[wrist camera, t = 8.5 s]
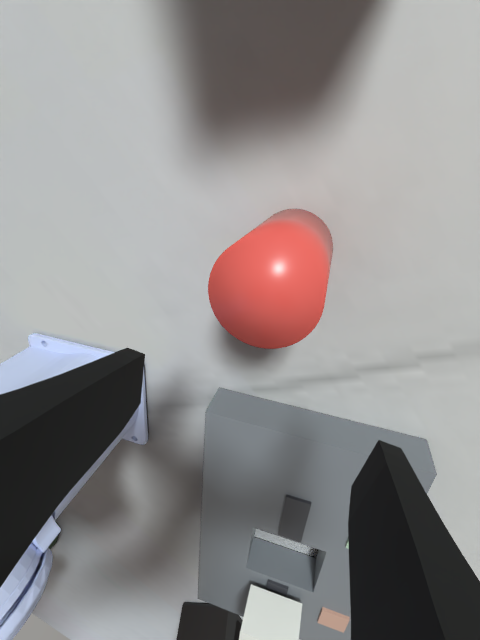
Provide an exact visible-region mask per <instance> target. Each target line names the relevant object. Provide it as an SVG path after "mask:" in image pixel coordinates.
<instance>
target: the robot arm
mask: <svg viewBox="0 0 480 640" xmlns="http://www.w3.org/2000/svg"><path fill="white" fill-rule="evenodd" d="M28 341H29V345H30V347H28V348H26V349H24V350H23V351H21V352H19V353H18V354H16V355H14V356H13V357H11V358H9V359H7V360H6V361H4V362H2V363H1V364H0V640H12V639H13V638H14V637H15V635H16V634H17V633H18V632H19V630H20V629H21V628H22V626H23V625H24V623H25V622H26V621H27V619H28V618H29V616H30V615H31V613H32V612H33V610H34V608H35V607H36V605H37V603H38V601H39V600H40V598H41V596H42V594H43V591H44V589H45V587H46V584H47V581H48V576H49V573H50V570H51V567H52V562H53V555H52V552H51V550H50V549H49V548H48V547H49V546H50V544H51V543H52V542H53V540H54V539H55V538H56V537H57V535H58V534H59V533H60V531H61V528H60V527H59V526H58V525H57V523H56V522H55V520H56V519H57V518H58V516H59V515H60V514H61V513H62V511H63V510H64V509H65V508H66V507H67V505H68V504H69V503H70V502H71V500H72V499H73V498H74V497H75V495H76V494H77V493H78V492H79V491H80V489H81V488H82V487H83V486H84V484H85V483H86V482H87V481H88V479H89V478H90V477H91V476H92V475H93V473H94V472H95V471H96V470H97V468H98V467H99V466H100V465H101V463H102V462H103V461H104V460H105V459H106V457H107V456H108V455H109V454H110V452H111V451H112V450H113V449H114V447H115V446H116V445H117V444H118V443H119V441H120V440H121V439H124V440H127V441H131V442H134V443H137V444H141V445H144V444H146V443H147V441H148V426H147V409H146V393H145V376H144V359H145V354H143V353H140V352H138V351H135V350H132V349H129V348H126V349H123V350H120V351H117V352H111V351H107V350H103V349H99V348H95V347H91V346H87V345H83V344H78V343H74V342H70V341H66V340H62V339H58V338H54V337H50V336H46V335H42V334H37V333H33V334H31V335H29V336H28ZM348 542H349V575H350V606H351V640H480V581H479V580H478V578H477V577H476V575H475V573H474V572H473V570H472V569H471V567H470V566H469V564H468V563H467V561H466V559H465V558H464V556H463V555H462V553H461V552H460V550H459V548H458V547H457V545H456V543H455V542H454V540H453V539H452V537H451V535H450V534H449V532H448V530H447V529H446V527H445V525H444V523H443V522H442V520H441V518H440V517H439V515H438V513H437V511H436V510H435V508H434V506H433V504H432V503H431V501H430V499H429V497H428V496H427V494H426V492H425V490H424V488H423V487H422V485H421V483H420V481H419V479H418V477H417V476H416V474H415V472H414V470H413V468H412V467H411V465H410V463H409V461H408V459H407V457H406V456H405V454H404V452H403V450H402V449H401V448H400V447H397V446H394V445H392V444H389V443H386V442H383V441H381V440H378V442H377V443H376V445H375V447H374V449H373V450H372V452H371V454H370V455H369V457H368V459H367V460H366V462H365V464H364V466H363V467H362V469H361V471H360V472H359V474H358V476H357V477H356V479H355V481H354V483H353V484H352V486H351V496H350V505H349V518H348Z"/></svg>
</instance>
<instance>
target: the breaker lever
mask: <svg viewBox="0 0 480 640" xmlns="http://www.w3.org/2000/svg"><path fill="white" fill-rule="evenodd" d="M301 612H302V603H299V602H297V601H294V600H291V599H289V598H286V597H283V596H281V595H278V594H275V593H273V592H270V591H267V590H265V589H262V588H259V587H257V586H254V585H251V586H250V591H249V595H248V599H247V604H246V608H245V613H244V617H243V621H242V626H241V630H240V636H239V640H299V632H300V622H301Z"/></svg>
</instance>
